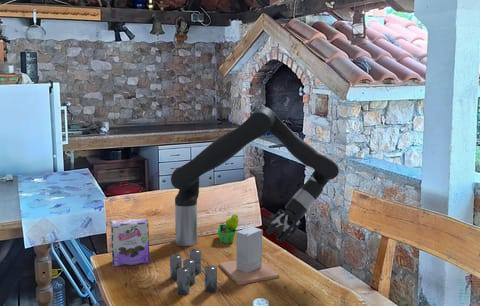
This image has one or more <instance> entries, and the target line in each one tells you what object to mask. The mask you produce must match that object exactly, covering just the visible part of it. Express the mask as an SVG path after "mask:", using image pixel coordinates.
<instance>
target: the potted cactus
mask: <svg viewBox="0 0 480 306" xmlns="http://www.w3.org/2000/svg"><path fill="white" fill-rule="evenodd" d="M239 221H240V218H239V216H238V215H237V214H233V215H231V217H229V218H226V220H225V224H223V223H221V224H219V226H218V229H217V235H218V239H219V242H220V244H233V243H234V238H235V235H236V232H237V229H238V226H239Z"/></svg>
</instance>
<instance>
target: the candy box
mask: <svg viewBox="0 0 480 306" xmlns="http://www.w3.org/2000/svg"><path fill="white" fill-rule="evenodd" d="M149 227H150V226H149V219H148V218H135V219H120V220H110V232H111V233H110V234H111V235H110V237H111V238H110V239H111V244H110V245H111V263H112V267H113V268H114V267H122V266H123V267H124V266H133V265H134V266H135V265H143V264H144V265H145V264H149V263H150V236H149V235H150V232H149V229H150V228H149Z"/></svg>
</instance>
